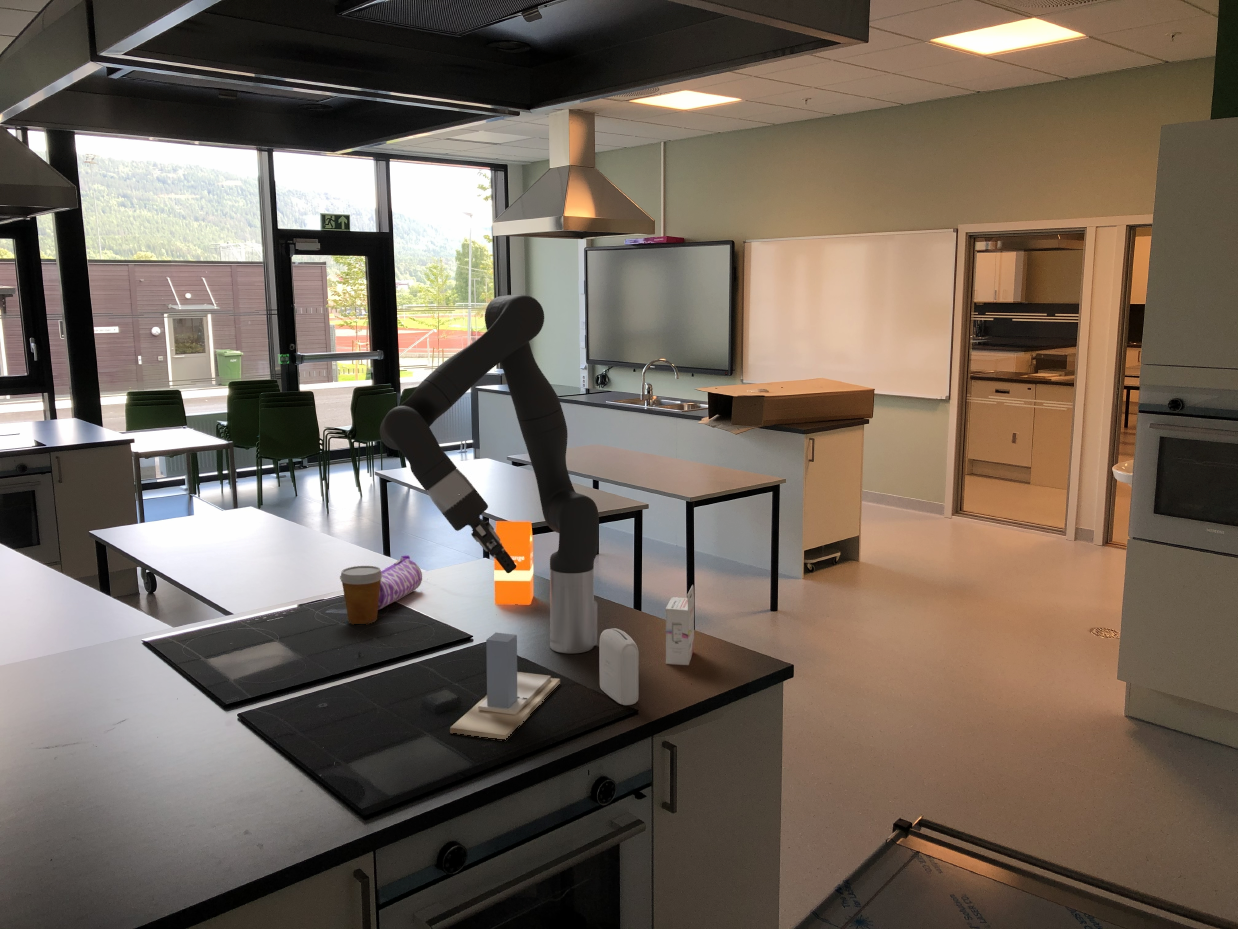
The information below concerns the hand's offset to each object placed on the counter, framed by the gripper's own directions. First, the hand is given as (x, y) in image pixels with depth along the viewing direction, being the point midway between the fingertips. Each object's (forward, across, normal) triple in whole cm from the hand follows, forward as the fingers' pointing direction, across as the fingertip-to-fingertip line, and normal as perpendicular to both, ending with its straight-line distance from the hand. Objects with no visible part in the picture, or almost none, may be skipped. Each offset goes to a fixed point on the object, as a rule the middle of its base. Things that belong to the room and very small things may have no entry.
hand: (511, 568), depth 173 cm
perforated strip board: (+19, -6, +15) cm, 25 cm away
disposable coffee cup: (-6, +48, +35) cm, 60 cm away
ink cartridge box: (+38, +14, -15) cm, 43 cm away
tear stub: (+17, -9, +16) cm, 25 cm away
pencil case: (-5, +64, +30) cm, 70 cm away
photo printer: (+31, -4, -1) cm, 31 cm away
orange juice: (+14, +60, +6) cm, 61 cm away
